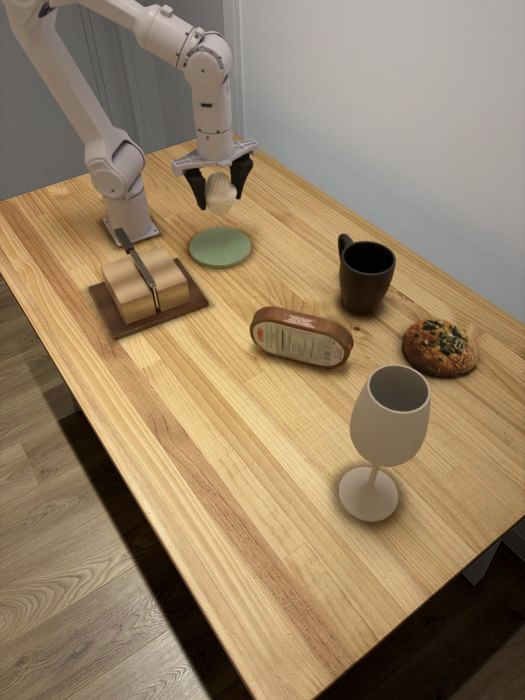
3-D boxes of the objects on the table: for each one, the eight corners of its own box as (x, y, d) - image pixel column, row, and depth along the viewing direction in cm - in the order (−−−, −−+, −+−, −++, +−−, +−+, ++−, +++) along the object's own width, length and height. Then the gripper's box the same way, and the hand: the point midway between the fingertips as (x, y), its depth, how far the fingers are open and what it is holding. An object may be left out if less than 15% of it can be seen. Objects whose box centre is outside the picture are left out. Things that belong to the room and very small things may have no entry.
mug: (359, 268, 96) (366, 222, 89) (395, 313, 88) (406, 266, 81) (316, 280, 94) (320, 234, 87) (350, 327, 86) (357, 280, 79)
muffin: (243, 204, 97) (242, 168, 92) (228, 223, 93) (225, 187, 88) (212, 196, 98) (209, 160, 93) (195, 215, 95) (191, 178, 90)
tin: (350, 362, 81) (357, 321, 75) (345, 377, 79) (352, 337, 73) (254, 338, 85) (253, 297, 78) (247, 352, 83) (246, 312, 77)
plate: (180, 241, 101) (179, 237, 100) (234, 224, 104) (233, 220, 104) (205, 276, 94) (204, 272, 94) (261, 256, 98) (261, 252, 97)
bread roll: (393, 366, 80) (401, 340, 77) (406, 323, 88) (415, 298, 85) (470, 390, 78) (482, 364, 75) (477, 344, 86) (488, 319, 83)
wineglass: (331, 468, 70) (350, 360, 54) (391, 464, 70) (427, 354, 54) (342, 526, 65) (367, 424, 49) (406, 520, 65) (451, 418, 49)
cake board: (89, 290, 92) (81, 265, 88) (178, 260, 97) (174, 236, 93) (114, 340, 85) (106, 315, 81) (209, 305, 90) (206, 280, 86)
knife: (119, 252, 96) (113, 227, 92) (127, 249, 97) (121, 225, 93) (153, 310, 86) (148, 285, 83) (162, 307, 87) (157, 282, 83)
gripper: (180, 148, 80) (189, 226, 90) (267, 124, 84) (267, 201, 95) (161, 127, 84) (172, 204, 94) (246, 106, 89) (248, 182, 99)
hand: (219, 202), depth 95 cm, fingers closed on muffin, 6 cm apart
